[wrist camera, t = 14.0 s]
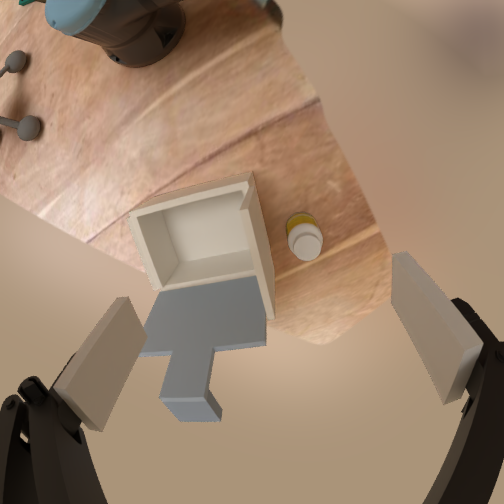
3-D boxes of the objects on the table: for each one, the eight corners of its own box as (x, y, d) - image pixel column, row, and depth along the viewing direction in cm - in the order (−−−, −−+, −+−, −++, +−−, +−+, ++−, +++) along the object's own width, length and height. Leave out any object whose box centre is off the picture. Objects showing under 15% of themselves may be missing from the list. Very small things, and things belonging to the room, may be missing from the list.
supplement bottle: (279, 221, 49) (281, 242, 40) (307, 205, 48) (315, 222, 39) (295, 246, 51) (300, 271, 42) (322, 231, 50) (333, 254, 41)
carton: (149, 198, 49) (79, 243, 29) (257, 170, 46) (245, 200, 26) (173, 267, 54) (126, 341, 34) (275, 248, 51) (276, 324, 31)
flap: (115, 395, 27) (138, 418, 29) (264, 392, 24) (274, 417, 27) (159, 291, 44) (172, 316, 46) (265, 273, 41) (272, 302, 44)
